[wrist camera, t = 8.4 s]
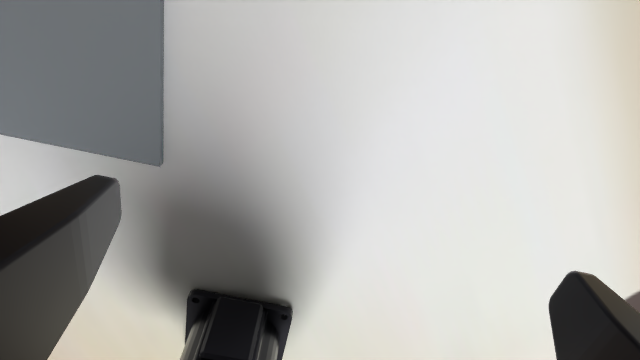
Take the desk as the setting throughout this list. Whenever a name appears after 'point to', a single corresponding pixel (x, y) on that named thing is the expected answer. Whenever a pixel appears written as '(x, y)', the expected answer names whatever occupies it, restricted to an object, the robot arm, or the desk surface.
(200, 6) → the desk surface
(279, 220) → the desk surface
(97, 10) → the build mat
